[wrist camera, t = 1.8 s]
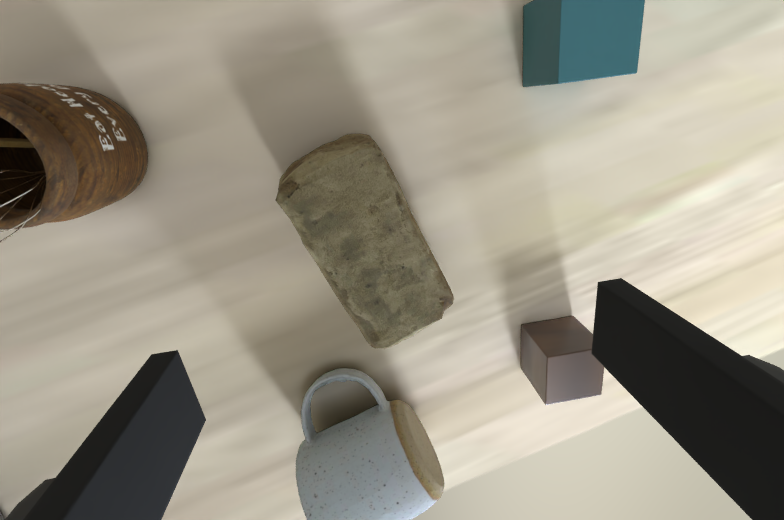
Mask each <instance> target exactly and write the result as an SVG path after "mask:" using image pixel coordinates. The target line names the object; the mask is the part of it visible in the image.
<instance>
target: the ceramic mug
mask: <svg viewBox="0 0 784 520" xmlns="http://www.w3.org/2000/svg"><path fill="white" fill-rule="evenodd" d="M347 380H350V381H357V382H359V383H361V384H362V385H363V386H364V387H366V388H368V390H369V391H370V392H371V394H372V395H373V396H374V397H375V399H376V401H377V403H378V405H376V406H374V407H372V408H370V409H368V410H365V411H364V412H362V413H360V414H358V415H356V416H354V417H352V418H350V419H347V420H345V421H343V422H340V423H338V424H336V425H334V426H331V427H329V428H327V429H325V430H323V431H321V432H319V433H316V431H315V429H314V426H313V423H312V418H311V408H310V405H311V399H312V396H313V394H314V392H315V391H316V390H317V389H318V388H320V387H321V386H323V385H326V384H328V383H331V382H334V381H340V382H345V381H347ZM301 419H302V427H303V432H304V435H305V440H304V441H303V442H302V444H301V445H300V447H299V450H298V453H297V458H296V480H297V486H298V492H299V496H300V500H301V504H302V507H303V510H304V513H305V516H306V518H307V520H411V519H413V518H415V517H416V516H418V515H419V514H421V513H423V512H424V511H426V510H427V509H428V508H429V507H431V506H432V505H433V504H434V503H435V502H436V501H437V500H438V499H439V498H440V497H441V495H442V493H443V489H444V478H443V474H442V470H441V467H440V463H439V461H438V458H437V455H436V453H435V450H434V448H433V446H432V444H431V441H430V439H429V437H428V435H427V433H426V431H425V429H424V427H423V425H422V424H421V422H420V420H419V418H418V417H417V415H416V414H415V412H414V411H413V409H412V408H411V407H410V406H409V405H408V404H407V403H405V402H403V401H401V400H393V401H387V400H386V398H385V396H384V394H383V392H382V390H381V389H380V387H379V386H378V385H377V384H376V383H375V382H374V380H373V379H372V378H371V377H369V376H368V375H367V374H365V373H363V372H361V371H359V370H356V369H350V368H340V369H335V370H332V371H330V372H327V373H325V374H324V375H322V376H321V377H319V378H318V379H317V380H316V381H315V382H314V383H313V384H312V385H311V386H310V388H309V389H308V391H307V392H306V394H305V397H304V400H303V404H302V410H301Z"/></svg>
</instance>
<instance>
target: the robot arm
mask: <svg viewBox="0 0 784 520" xmlns="http://www.w3.org/2000/svg"><path fill="white" fill-rule="evenodd" d="M591 354H592V355H593V356H594V357H595V358H596V359H597V360H598V361H599V362H600V363H601V364H602V365H603V366H604V367H605V368H606V369H607V370H608V371H609V372H610V373H611V374H612V375H613V376H614V377H615V378H616V379H617V381H618V382H619V383H620V384H621V385H622V386H623V387H624V388H625V389H626V390H627V391H628V392H629V393H630V394H631V395H632V396H633V397H634V398H635V399H636V400H637V401H638V402H639V403H640V404H641V405H642V406H643V407H644V408H645V409H646V410H647V411H648V412H649V414H650V415H651V416H652V417H653V418H654V419H655V420H656V421H657V422H658V423H659V424H660V425H661V426H662V427H663V428H664V429H665V430H666V431H667V432H668V433H669V434H670V435H671V436H672V437H673V438H674V439H675V440H676V441H677V442H678V443H679V445H680V446H681V447H682V448H683V449H684V450H685V451H686V452H687V453H688V454H689V455H690V456H691V457H692V458H693V459H694V460H695V461H696V462H697V463H698V464H699V465H700V466H701V467H702V468H703V469H704V470H705V471H706V472H707V473H708V474H709V475H710V477H711V478H712V479H713V480H714V481H715V482H716V483H717V484H718V485H719V486H720V487H721V488H722V489H723V490H724V491H725V492H726V493H727V494H728V495H729V496H730V497H731V498H732V499H733V500H734V501H735V502H736V503H737V504H738V505H739V506H740V508H742V510H743V511H744V512H745V513H746V514H747V515H748V516H749V517H750V518H751V519H752V520H784V370H782V369H781V368H779V367H777V366H775V365H772V364H770V363H767V362H765V361H762V360H760V359H757V358H755V357H752V356H750V355H746V356H741V355H739V354H738V353H736V352H735V351H733V350H732V349H730V348H728V347H727V346H725V345H724V344H722V343H721V342H719V341H718V340H716V339H715V338H713V337H711V336H710V335H708V334H707V333H705V332H704V331H702V330H701V329H699V328H697V327H696V326H694V325H693V324H691V323H690V322H688V321H687V320H685V319H683V318H682V317H680V316H679V315H677V314H676V313H674V312H673V311H671V310H670V309H668V308H666V307H665V306H663V305H662V304H660V303H659V302H657V301H656V300H654V299H652V298H651V297H649V296H648V295H646V294H645V293H643V292H642V291H640V290H638V289H637V288H635V287H634V286H632V285H631V284H629V283H628V282H626V281H625V280H623V279H621V278H620V279H614V280H608V281H602V282H598V288H597V299H596V310H595V320H594V331H593V342H592V353H591ZM205 421H206V419H205V416H204V414H203V411H202V409H201V406H200V404H199V402H198V399H197V397H196V394H195V392H194V389H193V387H192V384H191V382H190V379H189V377H188V375H187V372H186V370H185V367H184V365H183V362H182V360H181V357H180V355H179V352H178V350H176V351H170V352H164V353H158V354H152V355H151V356H150V357H149V359H148V360H147V361H146V362H145V364H144V365H143V366H142V368H141V369H140V370H139V371H138V373H137V374H136V375H135V377H134V378H133V379H132V380H131V382H130V383H129V384H128V386H127V387H126V388H125V389H124V391H123V392H122V393H121V395H120V396H119V397H118V398H117V400H116V401H115V402H114V404H113V405H112V406H111V407H110V409H109V410H108V411H107V413H106V414H105V415H104V416H103V418H102V419H101V420H100V422H99V423H98V424H97V425H96V427H95V428H94V429H93V431H92V432H91V433H90V434H89V436H88V437H87V438H86V440H85V441H84V442H83V443H82V445H81V446H80V447H79V449H78V450H77V451H76V452H75V454H74V455H73V456H72V458H71V459H70V460H69V461H68V463H67V464H66V465H65V467H64V468H63V469H62V470H61V472H60V473H59V474H58V476H57V477H56V478H53V479H48V480H45V481H44V482H43V483H42V484H40V485H39V486H38V487H37V488H36V489H35V490H33V491H32V492H31V493H30V494H29V495H28V496H26V497H25V498H24V499H23V500H22V501H21V502H19V503H18V504H17V506H16V507H15V508H14V509H13V510H12V512H11V513H10V514H9V515H8V517H7V518H6V519H4V517H3V515H2V513H1V512H0V520H161V519H162V517H163V515H164V512H165V510H166V508H167V506H168V503H169V501H170V499H171V497H172V494H173V492H174V490H175V488H176V485H177V483H178V481H179V479H180V477H181V474H182V472H183V470H184V468H185V465H186V463H187V461H188V459H189V456H190V454H191V452H192V450H193V447H194V445H195V443H196V441H197V439H198V436H199V434H200V432H201V430H202V427H203V425H204V423H205Z"/></svg>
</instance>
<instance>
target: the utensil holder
mask: <svg viewBox="0 0 784 520" xmlns="http://www.w3.org/2000/svg"><path fill="white" fill-rule="evenodd" d="M147 164H148V152H147V146H146V143H145V139H144V137H143V135H142V133H141V131H140V129H139V127H138V126H137V124H136V123H135V121H134V120H133V119H132V118H131V116H130V115H129V114H128V113H127V112H126V111H125V110H124V109H122V108H121V107H120V106H119V105H118V104H116V103H115V102H113V101H112V100H110V99H108V98H106V97H105V96H103V95H100V94H98V93H96V92H93V91H89V90H86V89H82V88H77V87H70V86H62V85H48V84H29V83H6V84H0V229H8V230H3V231H0V232H6V231H9V230H12V229H18V230H16V231H15V232H14V233H12V234H11V235H9V236H8V237H6V238H5V239H3V240H1V241H0V243H1V242H2V241H4V240H6V239H7V238H9V237H11V236H12V235H14V234H15V233H16V232H18V231H19V230H20V229H21V228H27V227H33V226H37V225H41V224H44V223H50V222H60V221H66V220H71V219H74V218H78V217H81V216H84V215H86V214H89V213H91V212H94V211H96V210H98V209H101V208H103V207H105V206H108V205H110V204H112V203H114V202H116V201H118V200H120V199H122V198H124V197H125V196H127V195H128V194H130V193H131V192H132V191H134V190H135V189H136V188H137V186H138V185H139V184H140V183H141V181H142V179H143V178H144V175H145V173H146V169H147Z"/></svg>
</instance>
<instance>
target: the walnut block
mask: <svg viewBox="0 0 784 520" xmlns="http://www.w3.org/2000/svg"><path fill="white" fill-rule="evenodd" d="M592 342H593V334H592V333H591V332H590V331H589V330H588V329H587V328H586V327H584V326H583V325H582V324H581V323H580V322H579V321H578V320H577V319H576V318H575V317H574V316H570V317H564V318H558V319H552V320H546V321H541V322H535V323H529V324H523V325H521V369H522V370H523V372H524V373H525V375H526V376H527V378H528V379H529V381H530V382H531V384H532V385H533V387H534V388H535V390H536V391H537V393H538V394H539V396H540V397H541V399H542V400H543V402H544V403H545V405H548V404H553V403H559V402H564V401H570V400H575V399H580V398H586V397H591V396H596V395H601V391H602V382H603V373H604V366H603V365H602V364H601V363H600V362H599V361H598V360H597V359H596V358H595V357H594V356H593V355H592V354H591V353H592Z"/></svg>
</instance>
